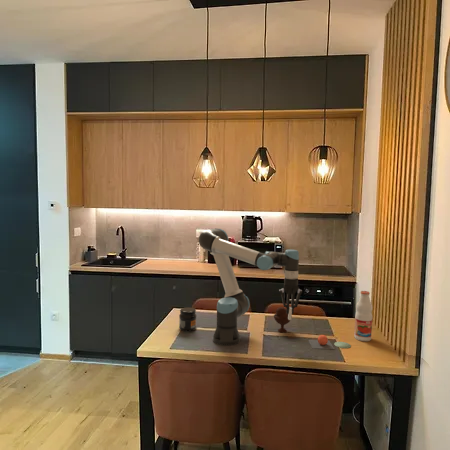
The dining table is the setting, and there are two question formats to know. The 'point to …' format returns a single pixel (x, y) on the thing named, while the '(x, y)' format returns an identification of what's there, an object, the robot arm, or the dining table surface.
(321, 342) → the ball
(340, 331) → the dining table surface
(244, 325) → the dining table surface
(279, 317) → the ice cream bowl
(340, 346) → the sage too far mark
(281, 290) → the robot arm
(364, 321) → the fruit juice
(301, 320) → the dining table surface
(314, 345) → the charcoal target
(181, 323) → the supplement container
